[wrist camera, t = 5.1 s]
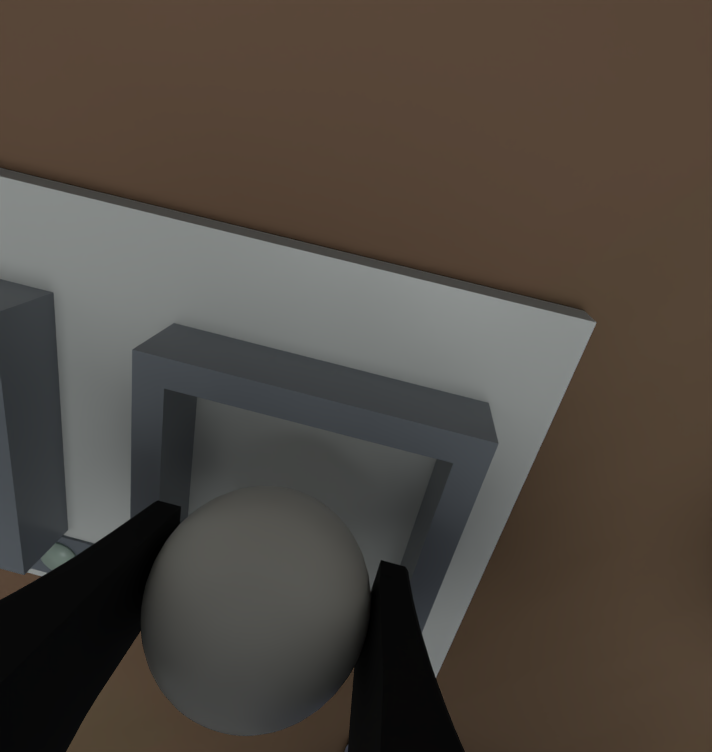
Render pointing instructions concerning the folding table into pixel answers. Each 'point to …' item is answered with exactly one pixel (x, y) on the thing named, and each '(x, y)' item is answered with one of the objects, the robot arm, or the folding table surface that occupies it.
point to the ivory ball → (255, 610)
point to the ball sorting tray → (261, 387)
